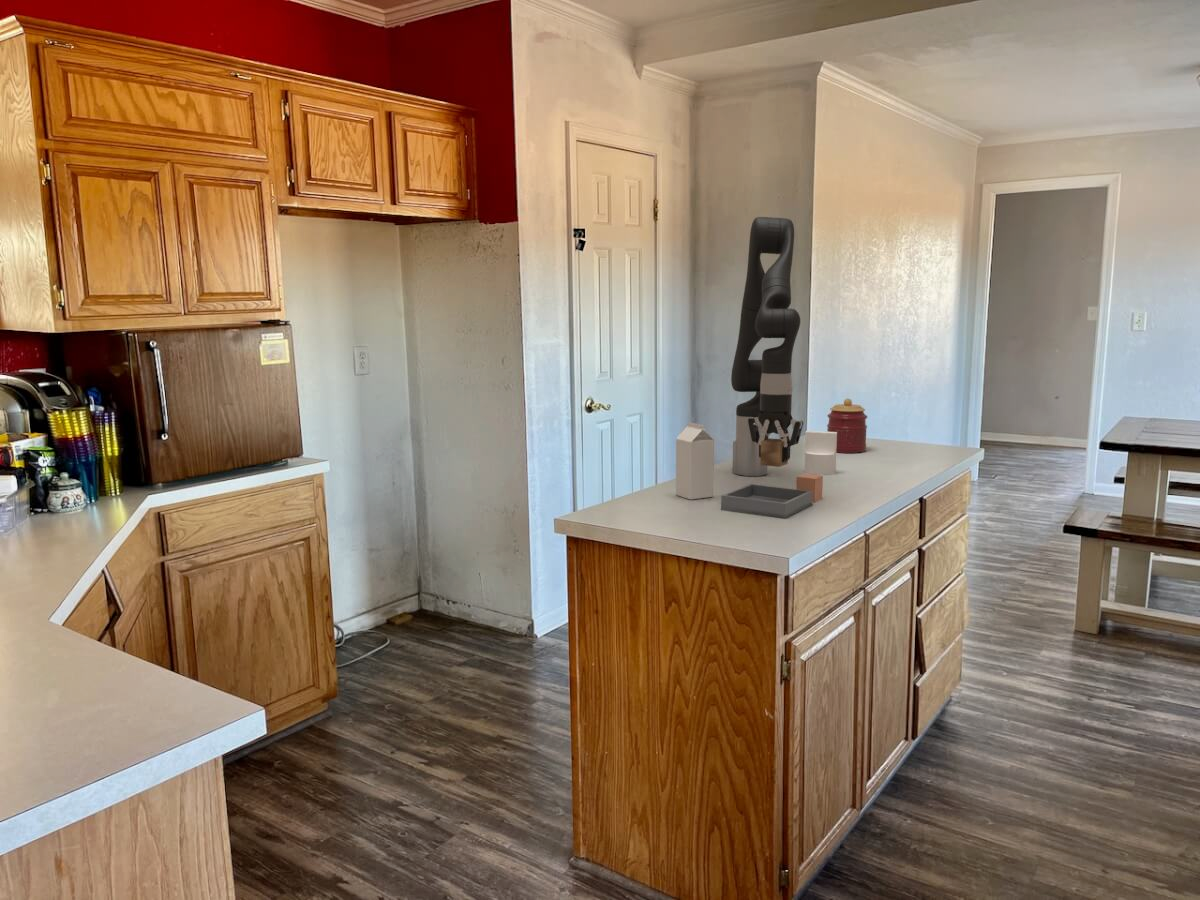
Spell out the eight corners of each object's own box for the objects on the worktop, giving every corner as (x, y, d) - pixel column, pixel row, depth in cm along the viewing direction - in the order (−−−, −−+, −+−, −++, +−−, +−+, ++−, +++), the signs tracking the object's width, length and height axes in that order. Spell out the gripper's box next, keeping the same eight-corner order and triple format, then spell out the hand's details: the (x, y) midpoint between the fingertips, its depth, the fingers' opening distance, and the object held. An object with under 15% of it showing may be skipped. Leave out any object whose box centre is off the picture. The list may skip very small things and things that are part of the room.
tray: (720, 509, 214) (721, 495, 213) (750, 497, 227) (750, 483, 227) (785, 518, 204) (785, 503, 204) (812, 505, 218) (812, 491, 217)
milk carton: (690, 500, 224) (691, 426, 221) (675, 495, 230) (675, 423, 227) (713, 497, 227) (714, 424, 224) (698, 492, 234) (699, 421, 230)
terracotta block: (795, 499, 224) (796, 476, 223) (803, 496, 228) (804, 473, 227) (814, 502, 221) (815, 478, 220) (822, 498, 225) (822, 475, 224)
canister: (827, 453, 293) (829, 400, 290) (824, 447, 305) (826, 396, 302) (868, 454, 291) (870, 400, 288) (863, 447, 303) (865, 396, 300)
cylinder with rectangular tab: (801, 474, 258) (803, 433, 256) (806, 468, 266) (808, 429, 264) (833, 476, 254) (835, 435, 252) (837, 470, 262) (839, 430, 260)
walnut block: (760, 465, 216) (760, 440, 215) (768, 462, 220) (769, 438, 219) (779, 466, 213) (780, 442, 212) (787, 463, 217) (788, 439, 217)
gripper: (742, 391, 215) (741, 460, 218) (797, 394, 207) (795, 465, 210) (755, 389, 221) (754, 456, 224) (810, 391, 213) (807, 461, 216)
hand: (774, 460), depth 217 cm, fingers closed on walnut block, 5 cm apart
